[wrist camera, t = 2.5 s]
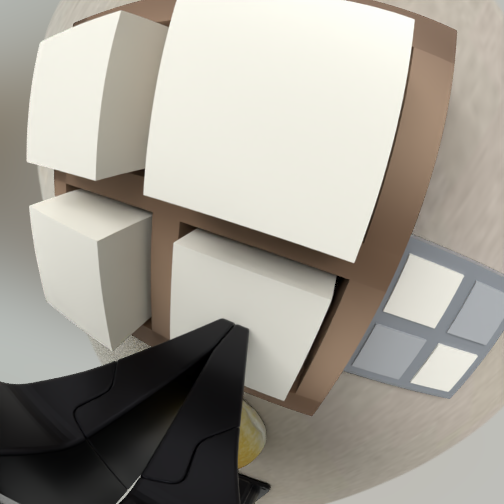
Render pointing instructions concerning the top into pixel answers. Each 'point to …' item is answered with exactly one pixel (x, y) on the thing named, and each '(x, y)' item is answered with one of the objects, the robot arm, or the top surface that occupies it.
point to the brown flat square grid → (352, 274)
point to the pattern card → (432, 322)
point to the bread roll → (250, 436)
